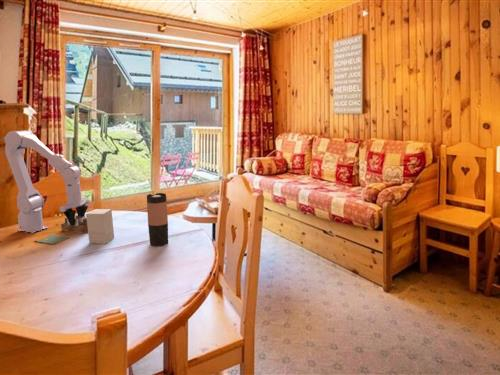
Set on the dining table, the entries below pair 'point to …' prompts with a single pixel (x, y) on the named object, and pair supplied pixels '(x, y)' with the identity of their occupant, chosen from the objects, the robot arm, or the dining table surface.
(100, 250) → the dining table surface
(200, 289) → the dining table surface
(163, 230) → the travel mug
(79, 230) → the plane body
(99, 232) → the supplement box
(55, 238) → the felt mat
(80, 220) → the lever cap
